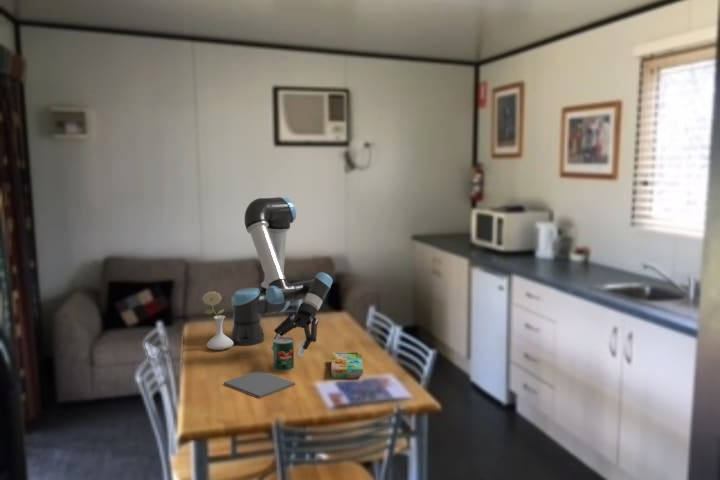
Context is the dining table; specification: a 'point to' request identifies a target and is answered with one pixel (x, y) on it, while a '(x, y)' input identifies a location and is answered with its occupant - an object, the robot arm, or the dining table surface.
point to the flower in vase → (219, 339)
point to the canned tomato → (283, 354)
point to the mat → (259, 384)
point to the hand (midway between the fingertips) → (285, 352)
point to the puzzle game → (346, 365)
